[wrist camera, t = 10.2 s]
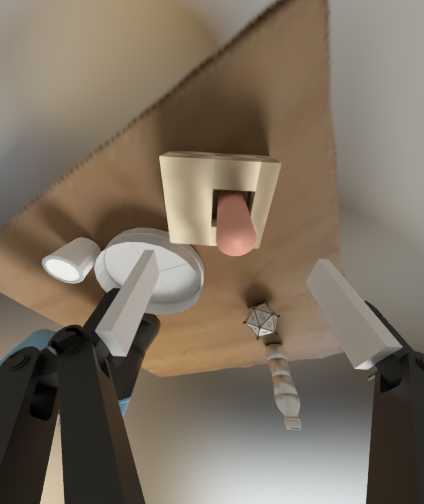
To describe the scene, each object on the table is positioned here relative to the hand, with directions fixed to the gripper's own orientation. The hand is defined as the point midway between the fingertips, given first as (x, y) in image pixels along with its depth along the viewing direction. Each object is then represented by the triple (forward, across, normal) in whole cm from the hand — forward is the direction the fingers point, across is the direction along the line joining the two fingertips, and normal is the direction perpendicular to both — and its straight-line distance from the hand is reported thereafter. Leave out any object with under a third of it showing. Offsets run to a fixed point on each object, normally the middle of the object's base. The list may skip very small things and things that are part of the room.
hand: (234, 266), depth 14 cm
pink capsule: (+16, -1, 0) cm, 16 cm away
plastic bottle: (+18, -22, +50) cm, 58 cm away
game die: (+18, -12, +28) cm, 35 cm away
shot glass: (+18, +28, +12) cm, 36 cm away
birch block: (+17, +2, 0) cm, 17 cm away
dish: (+18, +14, +18) cm, 29 cm away
